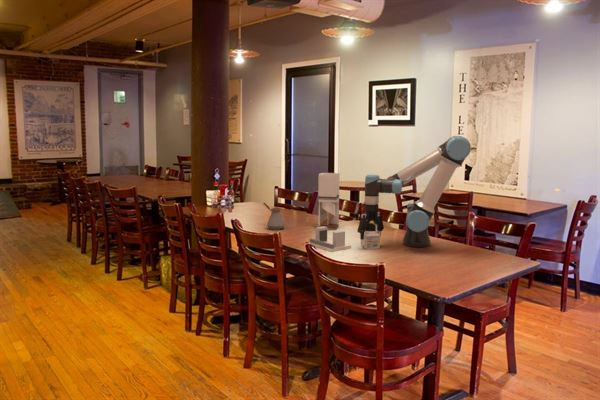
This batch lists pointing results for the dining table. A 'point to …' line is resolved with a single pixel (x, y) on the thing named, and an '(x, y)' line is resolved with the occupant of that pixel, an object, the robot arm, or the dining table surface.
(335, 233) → the rail board
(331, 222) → the grey dispenser tower
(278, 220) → the coffee pot
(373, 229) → the container
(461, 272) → the dining table surface
